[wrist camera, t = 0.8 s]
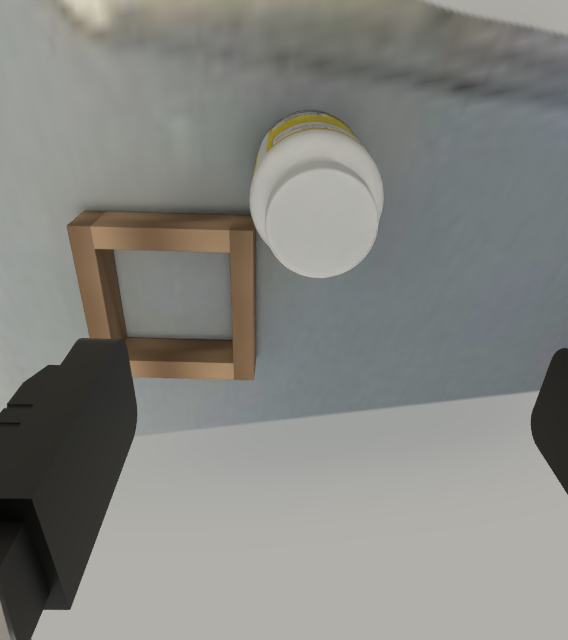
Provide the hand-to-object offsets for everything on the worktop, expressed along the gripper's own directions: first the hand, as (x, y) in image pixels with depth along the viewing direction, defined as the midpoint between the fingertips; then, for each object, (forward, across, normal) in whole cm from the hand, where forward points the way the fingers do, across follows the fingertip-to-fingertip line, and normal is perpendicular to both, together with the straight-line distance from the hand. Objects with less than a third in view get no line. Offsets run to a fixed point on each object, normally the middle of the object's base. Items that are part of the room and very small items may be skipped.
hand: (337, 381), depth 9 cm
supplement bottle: (+19, 0, 0) cm, 19 cm away
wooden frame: (+18, +7, +7) cm, 21 cm away
